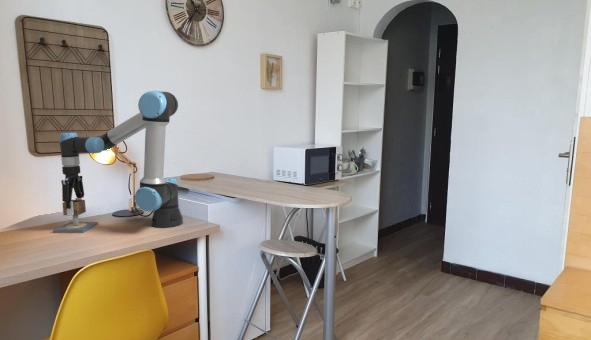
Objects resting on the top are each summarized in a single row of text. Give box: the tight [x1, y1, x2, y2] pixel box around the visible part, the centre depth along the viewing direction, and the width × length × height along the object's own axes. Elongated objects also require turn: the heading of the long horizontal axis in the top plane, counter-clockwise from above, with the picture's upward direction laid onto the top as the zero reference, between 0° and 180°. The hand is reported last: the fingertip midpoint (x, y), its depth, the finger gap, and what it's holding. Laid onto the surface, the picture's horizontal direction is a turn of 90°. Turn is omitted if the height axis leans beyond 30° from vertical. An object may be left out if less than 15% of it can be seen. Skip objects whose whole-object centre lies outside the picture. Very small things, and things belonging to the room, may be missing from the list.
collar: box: [62, 199, 87, 216], centre depth 206 cm, size 7×7×6 cm
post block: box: [53, 215, 99, 234], centre depth 207 cm, size 14×14×8 cm
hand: (75, 213), depth 207 cm, fingers closed on collar, 7 cm apart
